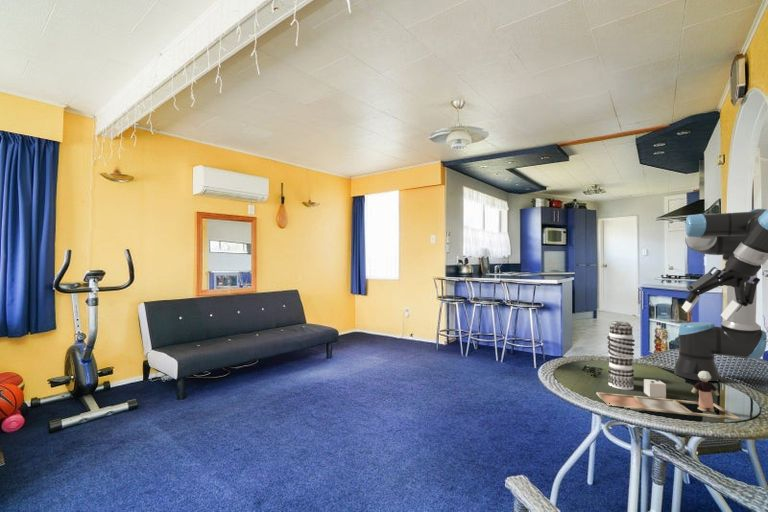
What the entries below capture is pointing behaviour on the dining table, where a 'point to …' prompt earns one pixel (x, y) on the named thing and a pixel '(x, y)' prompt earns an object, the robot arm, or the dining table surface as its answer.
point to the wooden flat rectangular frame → (657, 405)
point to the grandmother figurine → (705, 391)
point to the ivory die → (655, 388)
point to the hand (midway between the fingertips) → (704, 314)
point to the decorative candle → (621, 355)
